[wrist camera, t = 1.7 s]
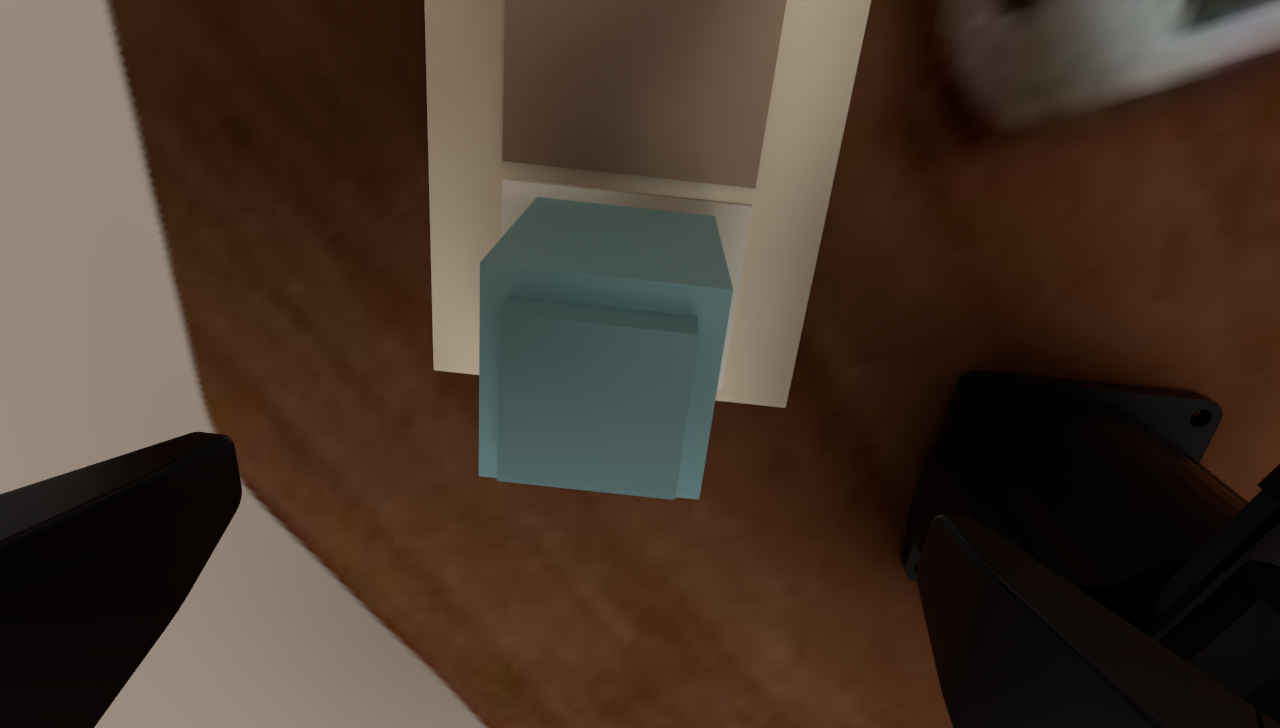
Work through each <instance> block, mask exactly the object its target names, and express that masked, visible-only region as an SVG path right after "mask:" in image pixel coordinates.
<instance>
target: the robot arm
mask: <svg viewBox="0 0 1280 728" xmlns="http://www.w3.org/2000/svg"><path fill="white" fill-rule="evenodd" d="M979 386H986V389H985V391H984V392H983V394H981V395H979V396H975V397H972V393H973V391H974V389H976V388H978V387H979ZM1199 410H1200V413H1199V414H1198V415H1197V416H1196V417H1194V418H1193V419H1190V417H1191V416H1192V415H1193V414H1194V413H1195V412H1197V411H1199ZM1221 418H1222V409H1221V407H1220V406H1219V405H1218V404H1217V403H1216V402H1214V401H1213V400H1211V399H1210V398H1208V397H1207V396H1205V395H1202V394H1199V393H1190V392H1180V391H1171V390H1162V389H1152V388H1143V387H1134V386H1125V385H1115V384H1106V383H1097V382H1088V381H1078V380H1069V379H1060V378H1051V377H1041V376H1032V375H1023V374H1013V373H1004V372H995V371H986V370H975V371H972V372H969V373H967V374H965V375H964V376H963V377H962V378H961V379H960V380H959V382H958V383H957V385H956V388H955V391H954V394H953V397H952V400H951V404H950V407H949V410H948V413H947V416H946V419H945V422H944V425H943V429H942V432H941V435H940V438H939V441H938V443H936V444H935V445H934V446H933V447H932V448H931V449H929V451H928V454H927V457H926V460H925V463H924V466H923V469H922V473H921V476H920V479H919V482H918V485H917V488H916V492H915V495H914V498H913V501H912V504H911V508H910V511H909V514H908V517H907V520H906V527H907V529H908V531H909V535H908V538H907V541H906V544H905V547H904V551H903V554H902V557H901V563H902V565H903V567H904V570H905V572H906V574H907V576H908V577H909V578H910V579H912V580H914V581H917V584H918V589H919V593H920V598H921V602H922V607H923V611H924V616H925V620H926V625H927V629H928V634H929V638H930V643H931V647H932V652H933V656H934V661H935V665H936V670H937V674H938V678H939V682H940V686H941V690H942V694H943V697H944V701H945V704H946V707H947V710H948V713H949V716H950V719H951V722H952V725H953V728H1280V464H1279V465H1278V466H1277V467H1276V468H1275V469H1274V470H1273V471H1272V472H1271V473H1270V474H1269V475H1267V476H1266V477H1265V478H1264V479H1263V480H1262V481H1261V482H1260V483H1259V484H1258V486H1259V487H1260V488H1261V489H1262V491H1261V492H1259V493H1258V494H1257V495H1256V496H1255V497H1254V498H1253V499H1252V500H1251V501H1250V502H1248V501H1246V500H1245V499H1244V498H1243V497H1241V496H1240V495H1239V494H1238V493H1236V492H1235V491H1234V490H1233V489H1231V488H1230V487H1229V486H1228V485H1226V484H1225V483H1224V482H1222V481H1221V480H1220V479H1219V478H1217V477H1216V476H1215V475H1214V474H1212V473H1211V472H1210V471H1209V470H1207V469H1206V468H1205V467H1204V466H1202V465H1201V464H1200V463H1199V462H1200V460H1201V458H1202V457H1203V455H1204V453H1205V451H1206V449H1207V447H1208V445H1209V443H1210V441H1211V439H1212V437H1213V435H1214V433H1215V431H1216V429H1217V427H1218V425H1219V423H1220V421H1221ZM241 495H242V487H241V481H240V475H239V468H238V462H237V456H236V450H235V446H234V443H233V441H232V439H231V438H230V437H228V436H227V435H223V434H214V433H204V432H193V433H190V434H186V435H183V436H181V437H177V438H174V439H171V440H168V441H165V442H161V443H158V444H155V445H152V446H149V447H146V448H143V449H140V450H137V451H134V452H131V453H127V454H124V455H121V456H118V457H115V458H112V459H109V460H106V461H103V462H100V463H96V464H94V465H90V466H87V467H84V468H81V469H78V470H75V471H72V472H69V473H66V474H62V475H59V476H56V477H53V478H50V479H47V480H44V481H41V482H37V483H35V484H31V485H28V486H25V487H22V488H19V489H16V490H13V491H9V492H6V493H3V494H0V728H94V727H95V726H96V724H97V723H98V721H99V720H100V719H101V717H102V716H103V715H104V713H105V712H106V710H107V709H108V707H109V706H110V705H111V703H112V702H113V701H114V699H115V698H116V697H117V695H118V694H119V692H120V691H121V690H122V688H123V687H124V686H125V684H126V683H127V681H128V680H129V678H130V677H131V676H132V675H133V673H134V672H135V670H136V669H137V668H138V666H139V665H140V663H141V662H142V661H143V659H144V658H145V657H146V655H147V654H148V652H149V651H150V650H151V648H152V647H153V646H154V644H155V643H156V641H157V640H158V638H159V637H160V636H161V634H162V633H163V632H164V630H165V629H166V627H167V626H168V625H169V623H170V622H171V620H172V619H173V617H174V616H175V614H176V613H177V611H178V610H179V608H180V607H181V605H182V604H183V602H184V600H185V599H186V597H187V596H188V594H189V592H190V591H191V589H192V587H193V585H194V584H195V582H196V580H197V578H198V576H199V575H200V573H201V572H202V570H203V568H204V566H205V565H206V563H207V561H208V559H209V558H210V556H211V554H212V552H213V551H214V549H215V547H216V546H217V544H218V542H219V540H220V539H221V537H222V535H223V533H224V532H225V530H226V528H227V526H228V525H229V523H230V521H231V520H232V518H233V516H234V514H235V513H236V511H237V509H238V507H239V504H240V500H241ZM918 562H919V563H918ZM917 563H918V566H916V564H917Z"/></svg>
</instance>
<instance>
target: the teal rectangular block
mask: <svg viewBox="0 0 1280 728" xmlns="http://www.w3.org/2000/svg"><path fill="white" fill-rule="evenodd" d="M732 294H733V287H732V283H731V279H730V275H729V271H728V267H727V263H726V259H725V255H724V251H723V247H722V243H721V239H720V235H719V231H718V227H717V223H716V219H715V216H709V215H700V214H691V213H681V212H672V211H663V210H654V209H645V208H635V207H626V206H617V205H608V204H599V203H589V202H580V201H571V200H562V199H552V198H543V197H537V198H536V199H535V200H534V201H533V202H532V204H531V205H530V206H529V207H528V208H527V209H526V210H525V211H524V213H523V214H522V215H521V216H520V217H519V218H518V219H517V221H516V222H515V223H514V224H513V225H512V226H511V227H510V229H509V230H508V231H507V232H506V233H505V234H504V235H503V237H502V238H501V239H500V240H499V241H498V242H497V243H496V244H495V246H494V247H493V248H492V249H491V250H490V251H489V252H488V254H487V255H486V256H485V257H484V258H483V259H482V260H481V262H480V327H479V476H483V477H492V478H497V481H502V482H512V483H521V484H530V485H540V486H549V487H558V488H568V489H577V490H586V491H596V492H605V493H614V494H624V495H633V496H642V497H652V498H661V499H670V500H675V497H679V498H688V499H697V500H699V497H700V491H701V485H702V479H703V473H704V467H705V460H706V454H707V448H708V442H709V436H710V430H711V423H712V417H713V411H714V405H715V399H716V393H717V386H718V380H719V374H720V368H721V362H722V356H723V349H724V343H725V337H726V331H727V325H728V319H729V313H730V306H731V300H732Z"/></svg>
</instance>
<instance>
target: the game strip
mask: <svg viewBox="0 0 1280 728" xmlns="http://www.w3.org/2000/svg"><path fill="white" fill-rule="evenodd" d="M424 2H425V42H426V82H427V122H428V162H429V202H430V242H431V282H432V322H433V362H434V370H437V371H446V372H455V373H465V374H474V375H479V327H480V262H481V260H482V259H483V258H484V257H485V256H486V255H487V254H488V252H489V251H490V250H491V249H492V248H493V247H494V246H495V244H496V243H497V242H498V241H499V240H500V239H501V238H502V237H503V235H504V234H505V233H506V232H507V231H508V230H509V229H510V227H511V226H512V225H513V224H514V223H515V222H516V221H517V219H518V218H519V217H520V216H521V215H522V214H523V213H524V211H525V210H526V209H527V208H528V207H529V206H530V205H531V204H532V202H533V201H534V200H535V199H536V198H537V197H543V198H552V199H562V200H571V201H580V202H589V203H599V204H608V205H617V206H626V207H635V208H645V209H654V210H663V211H672V212H681V213H691V214H700V215H709V216H715V219H716V223H717V227H718V231H719V235H720V239H721V243H722V247H723V251H724V255H725V259H726V263H727V267H728V271H729V275H730V279H731V283H732V287H733V294H732V300H731V306H730V313H729V319H728V325H727V331H726V337H725V343H724V349H723V356H722V362H721V368H720V374H719V380H718V386H717V393H716V399H715V400H716V401H725V402H734V403H744V404H753V405H762V406H771V407H781V408H786V404H787V399H788V394H789V390H790V385H791V380H792V375H793V371H794V366H795V361H796V356H797V351H798V347H799V342H800V337H801V332H802V328H803V323H804V318H805V313H806V309H807V304H808V299H809V294H810V290H811V285H812V280H813V275H814V271H815V266H816V261H817V256H818V252H819V247H820V242H821V237H822V233H823V228H824V223H825V218H826V214H827V209H828V204H829V199H830V195H831V190H832V185H833V180H834V175H835V171H836V166H837V161H838V156H839V152H840V147H841V142H842V137H843V133H844V128H845V123H846V118H847V114H848V109H849V104H850V99H851V95H852V90H853V85H854V80H855V76H856V71H857V66H858V61H859V57H860V52H861V47H862V42H863V38H864V33H865V28H866V23H867V19H868V14H869V9H870V4H871V0H424Z"/></svg>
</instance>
